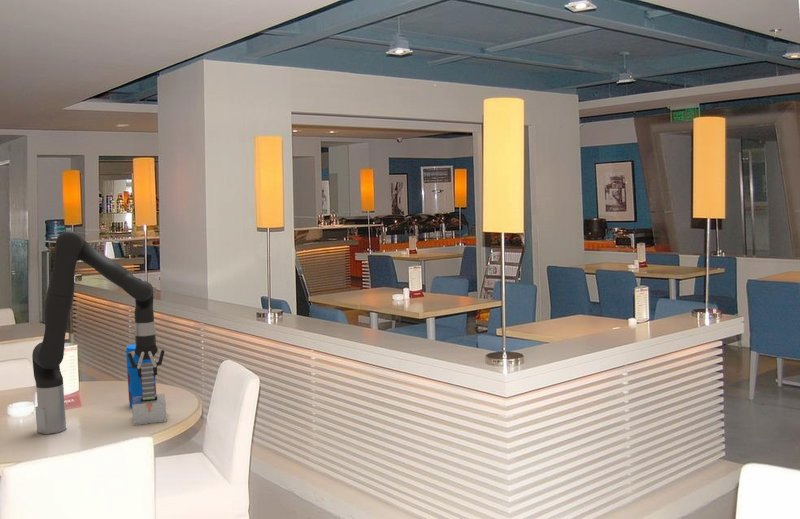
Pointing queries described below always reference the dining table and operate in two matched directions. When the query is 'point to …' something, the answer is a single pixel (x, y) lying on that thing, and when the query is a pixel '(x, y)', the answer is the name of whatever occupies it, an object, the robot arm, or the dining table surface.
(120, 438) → the dining table surface
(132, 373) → the thermos
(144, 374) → the column
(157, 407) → the housing
